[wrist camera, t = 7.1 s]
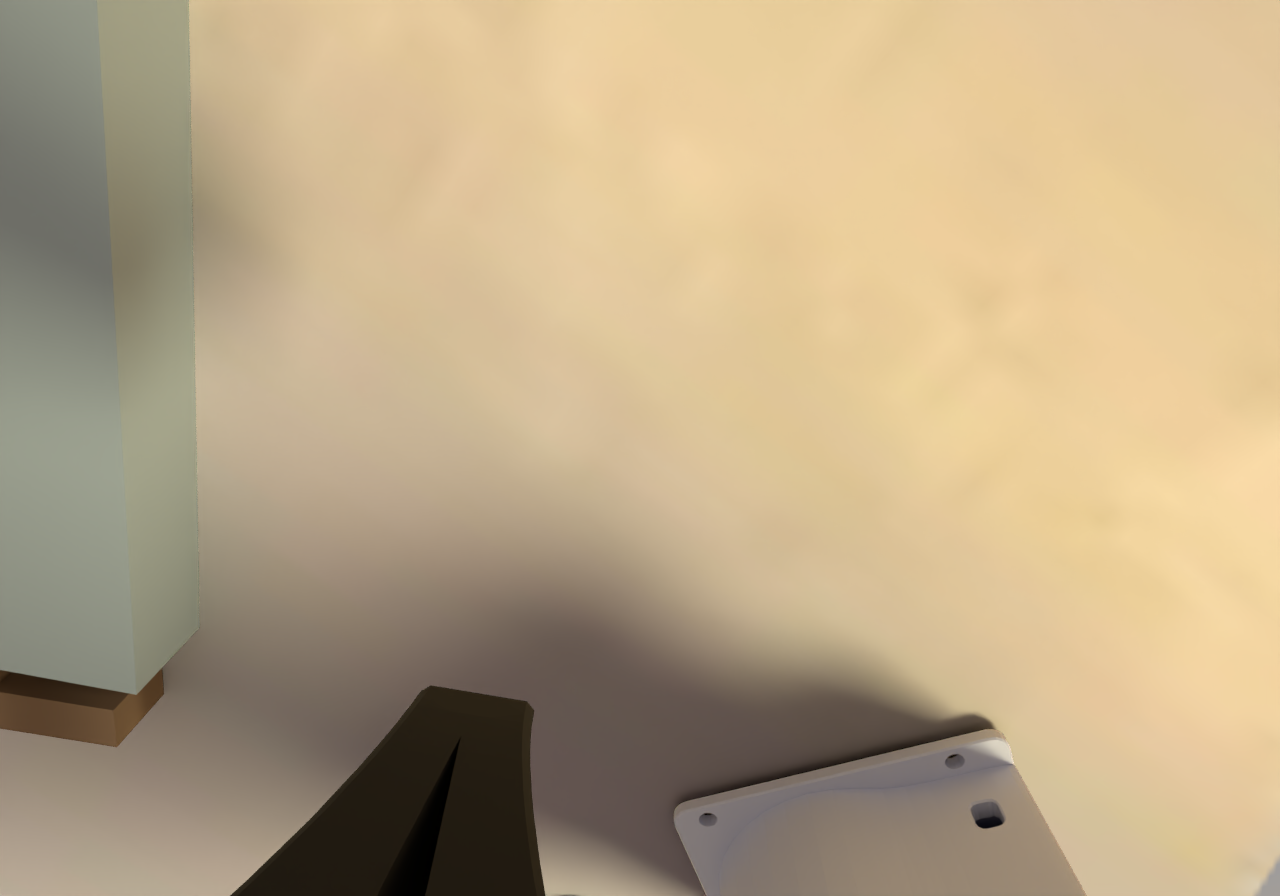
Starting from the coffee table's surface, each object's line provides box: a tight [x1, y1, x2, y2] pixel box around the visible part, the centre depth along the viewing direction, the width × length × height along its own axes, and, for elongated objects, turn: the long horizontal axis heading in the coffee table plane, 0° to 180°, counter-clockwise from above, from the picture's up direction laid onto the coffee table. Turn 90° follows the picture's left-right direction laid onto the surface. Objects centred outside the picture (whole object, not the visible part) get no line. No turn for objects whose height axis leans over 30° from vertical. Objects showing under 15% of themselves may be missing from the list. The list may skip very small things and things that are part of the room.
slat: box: [0, 0, 200, 695], centre depth 17 cm, size 4×16×3 cm, turn 168°
